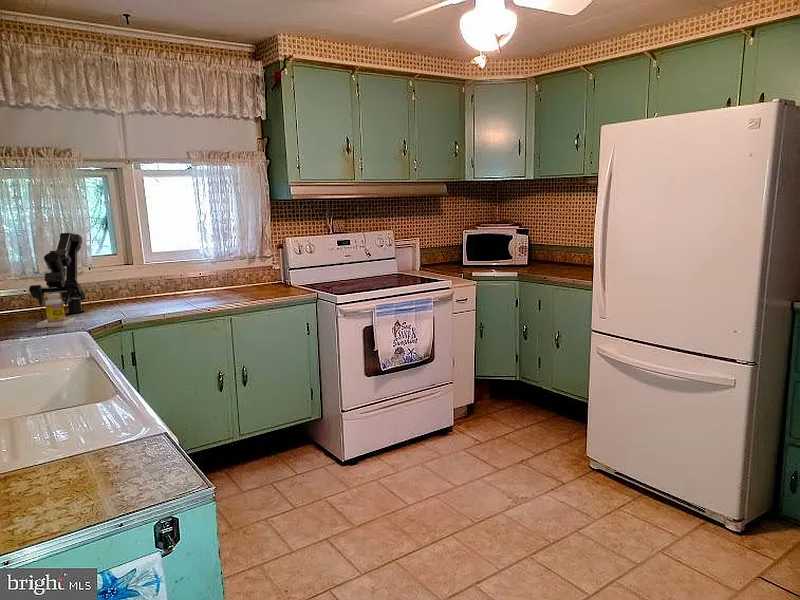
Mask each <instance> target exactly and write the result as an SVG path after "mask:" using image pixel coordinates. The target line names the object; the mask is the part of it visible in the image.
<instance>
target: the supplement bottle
mask: <svg viewBox="0 0 800 600" xmlns="http://www.w3.org/2000/svg"><path fill="white" fill-rule="evenodd" d="M60 294H61V293H60V292H56V293H54V292H53V293H47V294H46V298H47V300H46V301H45V302H44V306H45V312H46V320H47V322H48V323H51V322H64V321H65V318H66V312H65V308H64V307H65V304H64V301H63V300H62V298H61V299H60V296H61V295H60Z"/></svg>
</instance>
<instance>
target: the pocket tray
mask: <svg viewBox="0 0 800 600" xmlns="http://www.w3.org/2000/svg"><path fill="white" fill-rule="evenodd" d="M73 322H74V323H76V317H65V321H64V322H51V323H48V322H47V319H45V320H41V321H40V322H37V323H36V328H37V329H45V328H44V327H50V328H64V326H65V327H67V326H69V325H72V324H74V323H73ZM71 323H72V324H71ZM66 325H67V326H66Z"/></svg>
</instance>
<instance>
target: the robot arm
mask: <svg viewBox="0 0 800 600" xmlns="http://www.w3.org/2000/svg"><path fill="white" fill-rule="evenodd" d="M82 244H83V238H82V236H81V235H80V234H78V233H73V232H61V233H59V240H58V244H57V247H56V250H50V251H49V252H48V253H47V254H44V256H43V260H44V262H45V264H46V267H47V268H48V270H50V272H45V273H44V281H45V282H46V287H42V286H41V284H35V285H34V284H33V285H32V284H31V285H30V286H28V287H29V288H28V291H29V294H30V295H31V297H32V298H35V299H36V300H38V304H39V306H40V308H43V306H44V300H45V297H44V296H45V293H53V294H54V293H60V294H61V295H60V296H61V300H62V301H63V302H64V307H65V306H67V311H68V312H69V313H78V314H81V313H80V312H81V311H82V310H83V309H82V308H83V306H82V301H84V300H86V295H85V292H84V290H83V288H82V286H81V284H80V283H79V281H78V252H79V251H80V250H81V248H82Z"/></svg>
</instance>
